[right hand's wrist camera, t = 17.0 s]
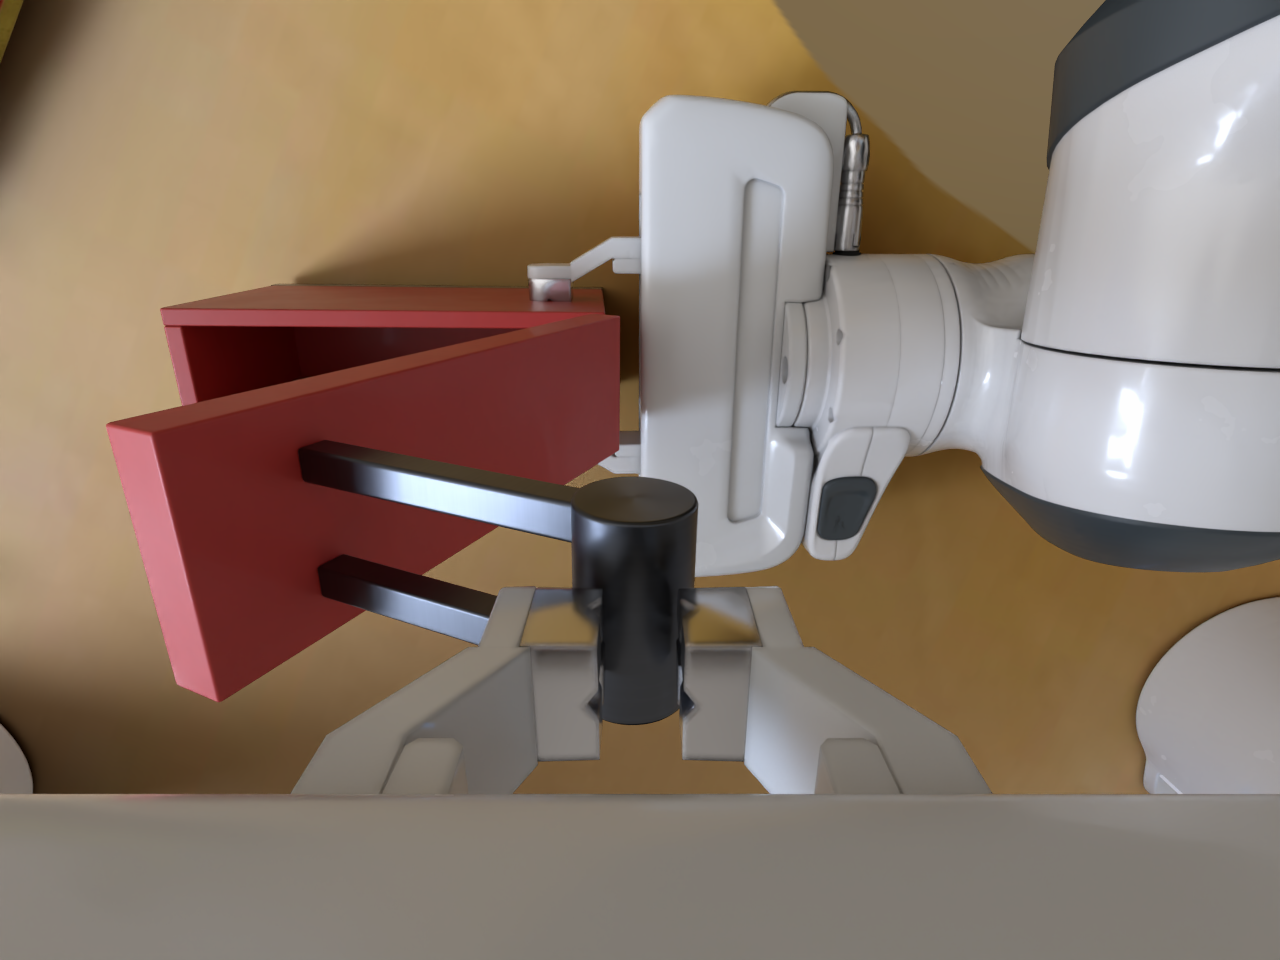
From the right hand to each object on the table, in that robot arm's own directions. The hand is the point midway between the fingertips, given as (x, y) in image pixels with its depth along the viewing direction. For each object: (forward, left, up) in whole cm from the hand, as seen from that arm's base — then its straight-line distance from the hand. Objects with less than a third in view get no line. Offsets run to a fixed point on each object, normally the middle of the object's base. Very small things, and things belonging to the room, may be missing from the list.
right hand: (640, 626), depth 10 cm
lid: (-5, 0, -9) cm, 10 cm away
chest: (-9, +1, -26) cm, 28 cm away
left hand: (-4, 0, -21) cm, 21 cm away
